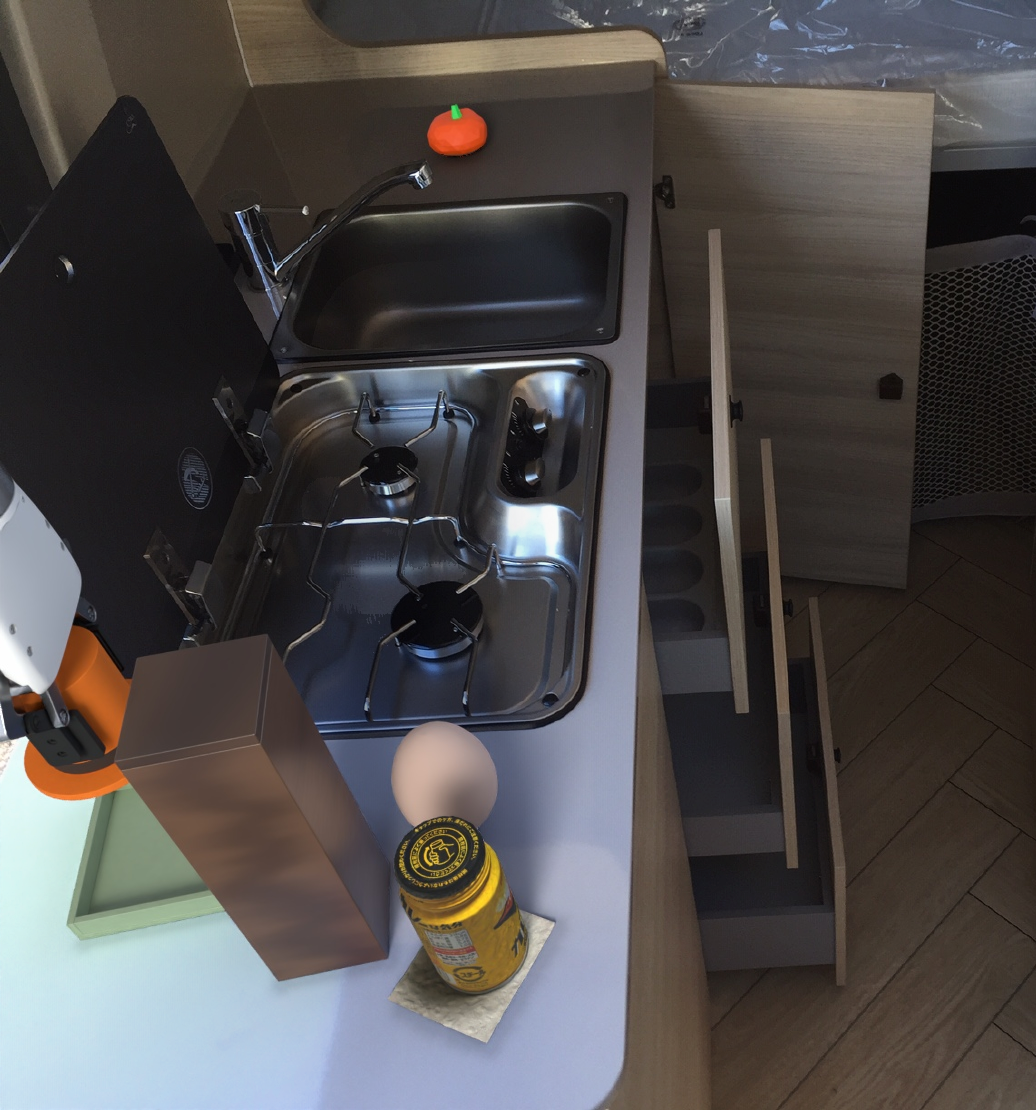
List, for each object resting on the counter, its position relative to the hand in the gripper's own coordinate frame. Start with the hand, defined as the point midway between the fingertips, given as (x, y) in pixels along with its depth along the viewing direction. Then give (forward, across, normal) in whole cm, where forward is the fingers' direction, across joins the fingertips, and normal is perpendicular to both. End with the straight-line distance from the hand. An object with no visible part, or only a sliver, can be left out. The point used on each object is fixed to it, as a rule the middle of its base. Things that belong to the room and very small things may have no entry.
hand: (89, 712), depth 74 cm
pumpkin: (+16, -101, +22) cm, 104 cm away
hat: (+3, 0, 0) cm, 3 cm away
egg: (+15, +2, +19) cm, 25 cm away
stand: (+15, +8, +11) cm, 20 cm away
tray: (+15, 0, 0) cm, 15 cm away
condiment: (+15, +14, +20) cm, 28 cm away
